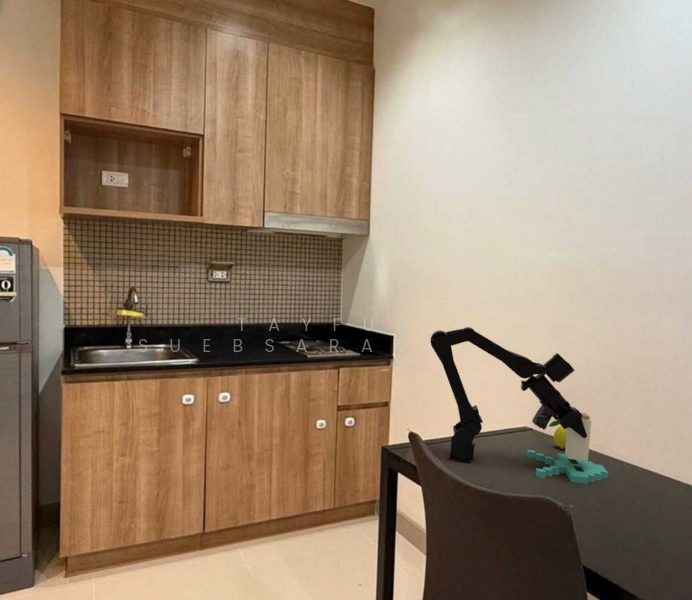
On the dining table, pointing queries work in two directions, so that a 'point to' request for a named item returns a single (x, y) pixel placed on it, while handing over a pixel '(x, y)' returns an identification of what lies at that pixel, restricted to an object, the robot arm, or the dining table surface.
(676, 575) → the dining table surface
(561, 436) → the lemon
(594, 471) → the alien figure
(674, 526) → the dining table surface
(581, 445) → the canister
